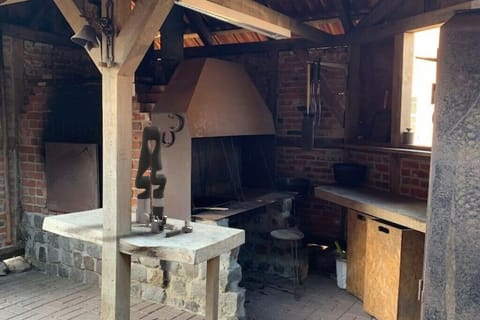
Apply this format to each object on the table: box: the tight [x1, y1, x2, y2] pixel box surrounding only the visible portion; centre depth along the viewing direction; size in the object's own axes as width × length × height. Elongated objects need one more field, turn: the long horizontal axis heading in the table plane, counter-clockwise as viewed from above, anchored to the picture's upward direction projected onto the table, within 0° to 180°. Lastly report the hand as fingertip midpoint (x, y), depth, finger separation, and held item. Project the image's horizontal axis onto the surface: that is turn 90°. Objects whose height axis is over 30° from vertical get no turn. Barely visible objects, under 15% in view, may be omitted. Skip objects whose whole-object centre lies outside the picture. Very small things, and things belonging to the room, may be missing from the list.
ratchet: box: [165, 219, 194, 238], centre depth 285 cm, size 7×22×8 cm, turn 146°
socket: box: [150, 221, 165, 234], centre depth 288 cm, size 6×6×6 cm
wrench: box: [141, 213, 179, 231], centre depth 302 cm, size 8×2×30 cm
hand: (157, 230), depth 288 cm, fingers closed on socket, 6 cm apart
